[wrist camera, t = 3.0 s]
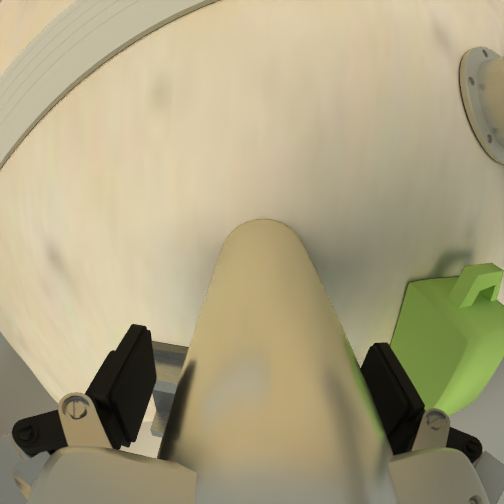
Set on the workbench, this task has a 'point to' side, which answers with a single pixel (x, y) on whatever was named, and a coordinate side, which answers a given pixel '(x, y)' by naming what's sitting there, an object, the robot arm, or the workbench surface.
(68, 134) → the workbench surface
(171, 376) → the floor track
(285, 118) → the workbench surface
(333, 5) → the workbench surface
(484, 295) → the lime handled box
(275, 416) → the tan metal cylinder
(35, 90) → the baseboard
